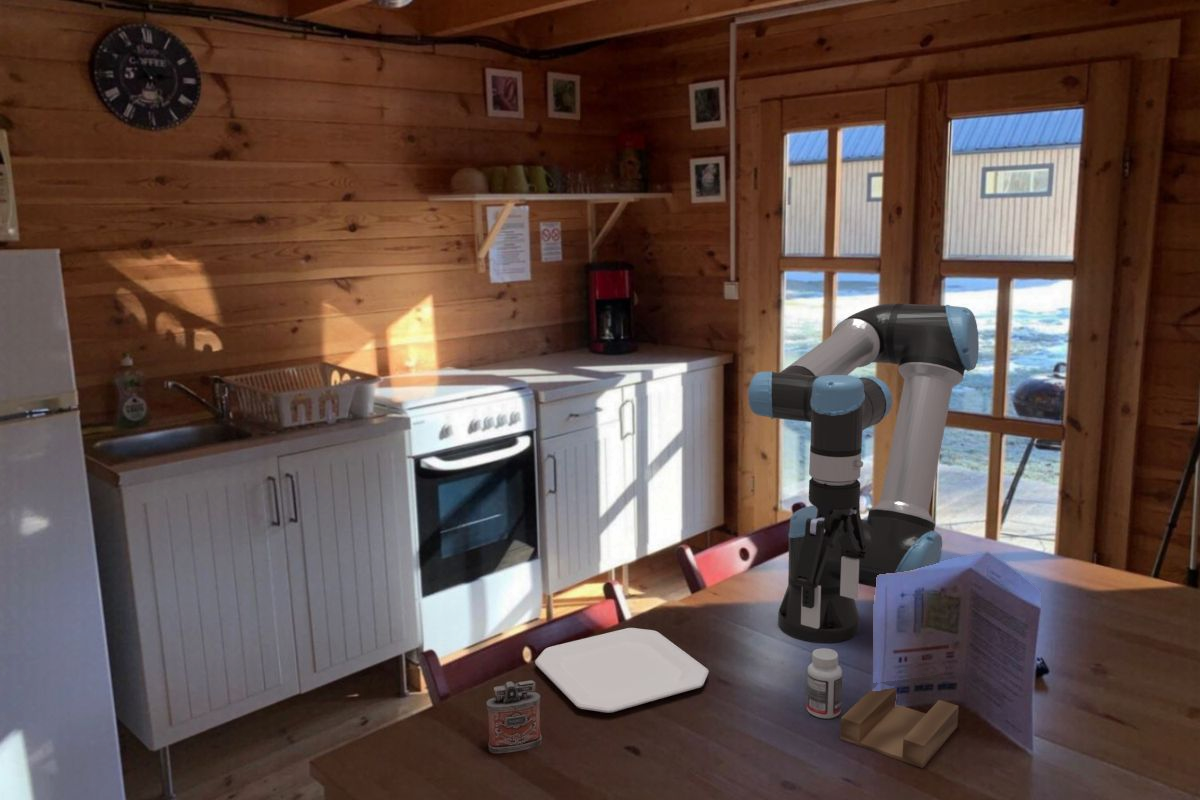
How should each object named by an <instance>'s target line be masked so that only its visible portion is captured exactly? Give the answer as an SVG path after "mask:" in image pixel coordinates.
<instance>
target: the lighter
mask: <svg viewBox="0 0 1200 800" xmlns="http://www.w3.org/2000/svg"><path fill="white" fill-rule="evenodd" d="M493 694H494V697H491V698H490V699H488V700H487V701H486V709H487V718H488V737H489V741H488V742H487V744H488V751H489V752H490V753H492V754H503V753H505V754H506V753H513V752H519V751H524V750H529V749H531V748H535V747H538V746H540V745H541V744H542V742H543V741H542V739H543V738H542V734H541V719H540V717H541V716H540V703H541V695H540V694H539V693H538V692H536V682H535V681H534V680H526V681H519V682H517V683H514V682H513V681H507V682H505V684H504V685H500V686H495V687H493Z"/></svg>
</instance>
